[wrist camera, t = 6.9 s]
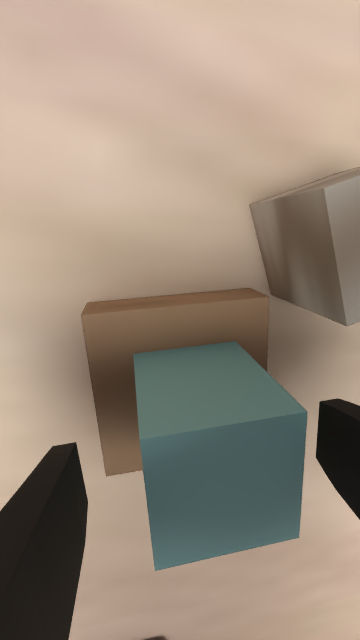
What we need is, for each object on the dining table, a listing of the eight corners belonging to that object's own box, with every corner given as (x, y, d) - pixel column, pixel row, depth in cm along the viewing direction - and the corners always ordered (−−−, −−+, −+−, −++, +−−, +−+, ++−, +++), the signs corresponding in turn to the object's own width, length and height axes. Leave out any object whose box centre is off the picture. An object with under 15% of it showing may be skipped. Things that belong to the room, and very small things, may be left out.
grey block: (349, 264, 14) (463, 279, 9) (270, 294, 14) (346, 326, 9) (336, 173, 13) (459, 138, 8) (248, 204, 13) (323, 188, 8)
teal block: (236, 427, 13) (298, 537, 8) (143, 443, 13) (155, 570, 8) (235, 341, 12) (307, 411, 7) (133, 353, 11) (139, 439, 7)
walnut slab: (244, 417, 16) (264, 448, 14) (108, 439, 15) (106, 476, 13) (245, 286, 14) (268, 296, 12) (88, 300, 13) (80, 315, 11)
